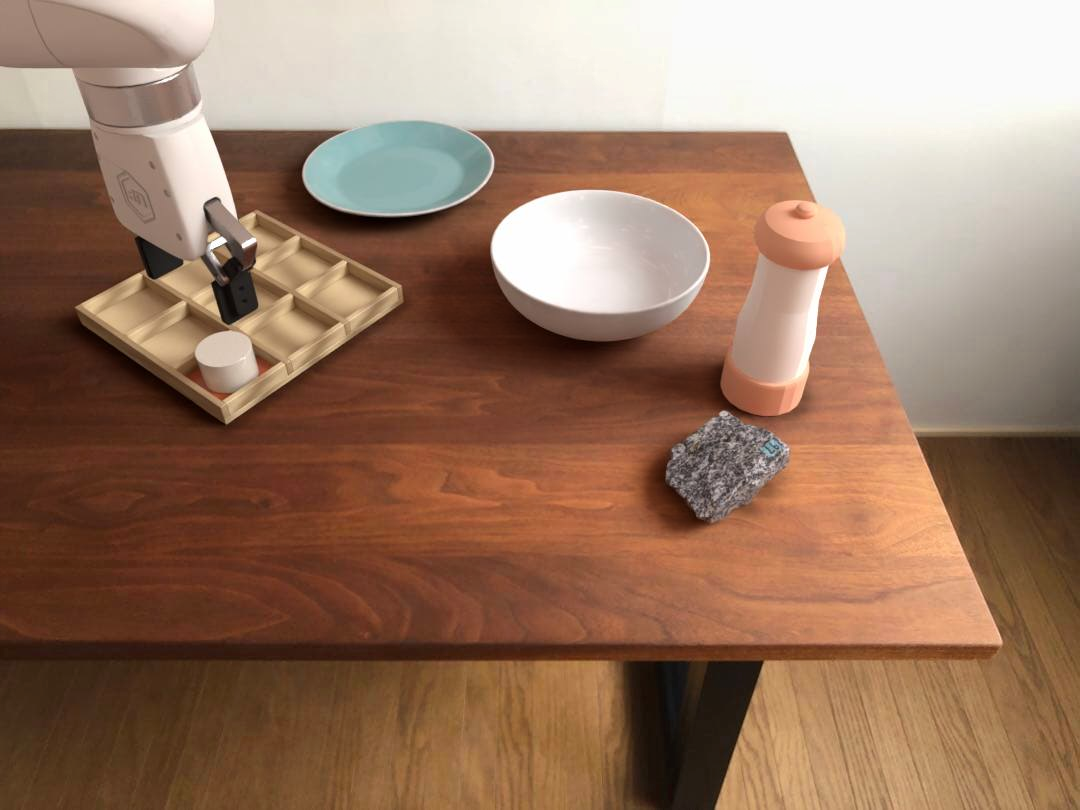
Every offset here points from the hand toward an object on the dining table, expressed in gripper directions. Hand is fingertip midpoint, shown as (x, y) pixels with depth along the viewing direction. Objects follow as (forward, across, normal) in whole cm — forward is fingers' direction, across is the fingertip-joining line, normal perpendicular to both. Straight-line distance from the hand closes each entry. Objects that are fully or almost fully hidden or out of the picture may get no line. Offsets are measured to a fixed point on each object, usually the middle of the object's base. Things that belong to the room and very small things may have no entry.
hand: (203, 293), depth 73 cm
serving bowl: (+10, +18, +31) cm, 37 cm away
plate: (+10, -12, +35) cm, 38 cm away
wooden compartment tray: (+10, -8, +8) cm, 15 cm away
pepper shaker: (+11, +38, +30) cm, 49 cm away
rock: (+11, +40, +18) cm, 45 cm away
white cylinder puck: (+10, 0, +1) cm, 10 cm away
